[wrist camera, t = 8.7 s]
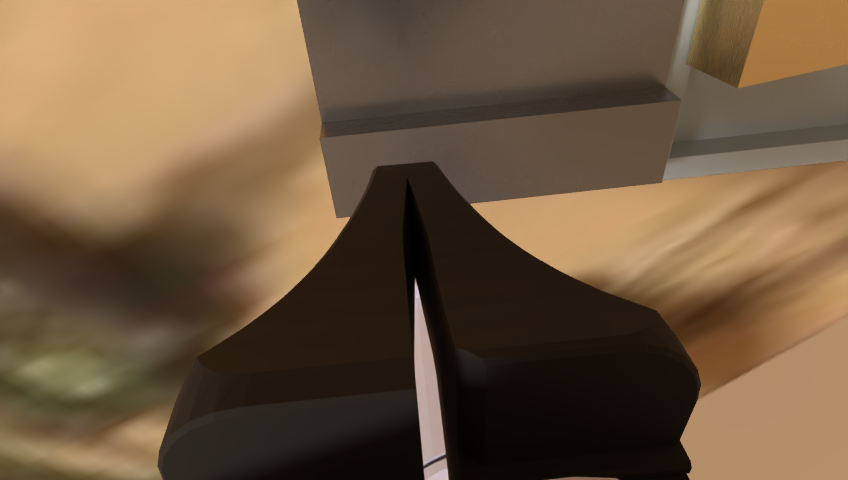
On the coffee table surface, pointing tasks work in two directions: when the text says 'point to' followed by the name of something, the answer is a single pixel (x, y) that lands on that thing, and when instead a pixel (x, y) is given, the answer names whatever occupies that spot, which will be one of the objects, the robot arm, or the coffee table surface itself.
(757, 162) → the tray
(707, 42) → the block
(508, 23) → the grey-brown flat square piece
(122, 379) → the coffee table surface
